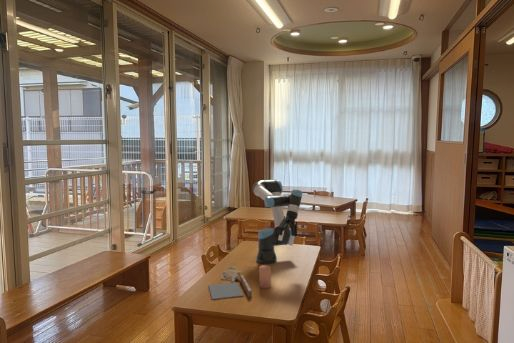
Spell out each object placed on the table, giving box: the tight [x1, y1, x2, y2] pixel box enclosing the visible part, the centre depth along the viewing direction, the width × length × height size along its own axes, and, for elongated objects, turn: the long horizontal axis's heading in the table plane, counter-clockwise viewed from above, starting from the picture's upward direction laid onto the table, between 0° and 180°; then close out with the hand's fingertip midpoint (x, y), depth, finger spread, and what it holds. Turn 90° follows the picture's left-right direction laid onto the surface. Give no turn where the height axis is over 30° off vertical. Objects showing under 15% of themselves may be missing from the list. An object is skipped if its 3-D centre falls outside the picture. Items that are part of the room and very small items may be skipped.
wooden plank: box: [239, 274, 253, 299], centre depth 222 cm, size 26×2×4 cm, turn 13°
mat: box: [208, 281, 244, 301], centre depth 219 cm, size 20×18×1 cm
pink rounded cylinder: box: [258, 264, 272, 289], centre depth 225 cm, size 7×7×12 cm
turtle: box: [221, 265, 244, 283], centre depth 238 cm, size 16×10×10 cm, turn 73°
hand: (285, 242), depth 241 cm, fingers open, 13 cm apart
